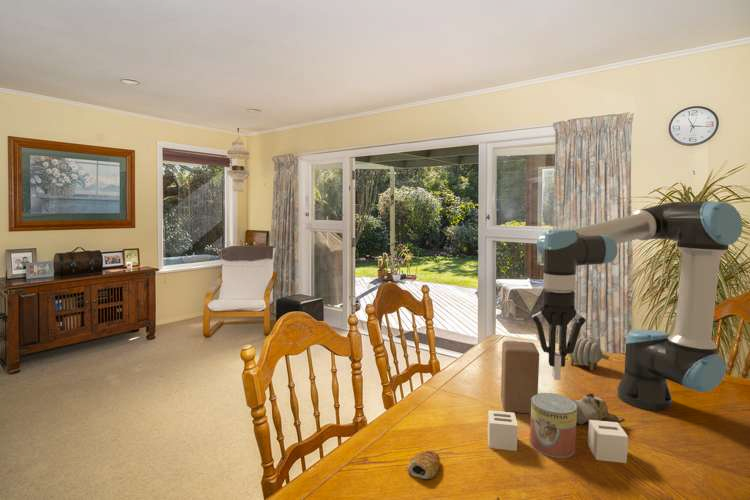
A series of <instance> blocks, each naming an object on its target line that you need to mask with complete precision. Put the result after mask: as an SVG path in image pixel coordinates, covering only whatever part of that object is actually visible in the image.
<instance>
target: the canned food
mask: <svg viewBox="0 0 750 500" xmlns="http://www.w3.org/2000/svg"><path fill="white" fill-rule="evenodd" d="M573 400H574V399H573ZM573 400H571V398H569V397H568V396H564V395H561V394H557V393H552V392H551V393H550V392H541V393H540V392H539V393H538V394H536V395H534V396H532V398H531V414H530V427H529V429H530V432H529V444H530V446H531V447H532V448H533V450H535V451H536V452H538V453H539V454H542V455H544V456H546V457H550V458H554V459H555V458H557V459H566V458H570V457H572V456H573V455H575V453H576V438H577V437H576V436H577V423H576V420H577V408H578V406H577V404H576V403H575V402H574V401H573Z"/></svg>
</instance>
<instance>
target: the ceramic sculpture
mask: <svg viewBox="0 0 750 500" xmlns="http://www.w3.org/2000/svg"><path fill="white" fill-rule="evenodd" d="M570 399H571V398H570ZM571 400H573V401H574V402H575V403H576V404H577V406H578V408H577V420H576V424H578V425H584V424H585V423H586V422H589V420H597V421H608V422H618V423H619V424H621V423H622V422H625V421H626V418H622V417H618V416H617V415H615V414H613V413H610V412H609V410H608V409H609V408H608V404H607V403H606V402H605V400H603V399H601V398H600V397H599V396H596V395H594V394H593V393H588V394H587V393H586V394H584V395H583V397H582V398H581V399H580V400H579V399H577V400H576V399H571Z"/></svg>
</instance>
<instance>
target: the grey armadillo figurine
mask: <svg viewBox="0 0 750 500" xmlns="http://www.w3.org/2000/svg"><path fill="white" fill-rule="evenodd" d="M567 344H568V343H566V347H567ZM568 356H569V358H570V363H569V364H570V365H571V366H574V364H575V363H577V364H578V365H580V366H583V367H584V366H586V367H589V370H590V371H594V368H597V367H598V363H599V362H600V361H601V360H602V359H604V360H609V359H610V356H609V355H606V354H604V353H603V351H602V349H601V347H600V345H599V344H598V343H595V342H594V341H593V340H589V339H588V338H578V339H577V342H576V345H575V349H574V352H573V353H569V354H568Z"/></svg>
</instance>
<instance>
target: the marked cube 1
mask: <svg viewBox="0 0 750 500" xmlns="http://www.w3.org/2000/svg"><path fill="white" fill-rule="evenodd" d="M515 413H516V412H507V411H500V410H489V409H488V411H487V442H488V449H497V450H504V451H512V452H514V451H515V452H517V451H518V433H519V432H518V428H519V425H518V422H517V418H516V414H515Z"/></svg>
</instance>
